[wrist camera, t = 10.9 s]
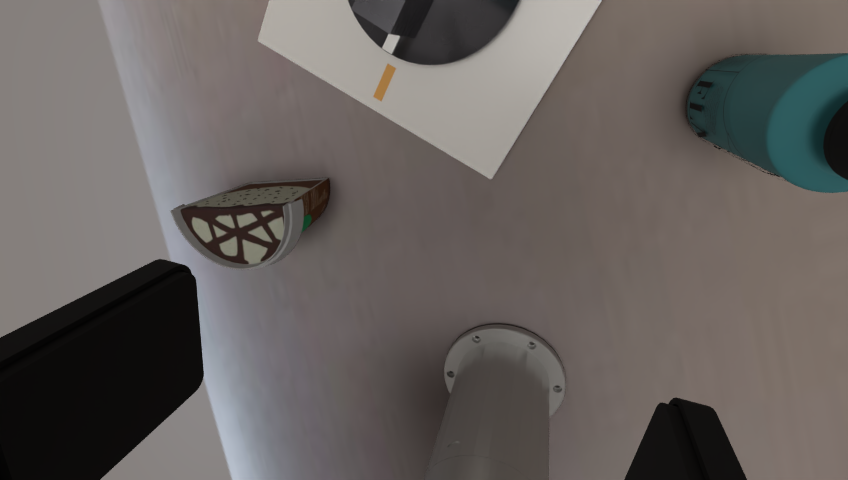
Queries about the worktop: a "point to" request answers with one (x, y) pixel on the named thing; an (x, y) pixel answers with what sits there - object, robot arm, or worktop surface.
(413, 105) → the dial plate
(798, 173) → the beverage bottle
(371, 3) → the dial
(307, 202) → the food container
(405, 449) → the worktop surface
